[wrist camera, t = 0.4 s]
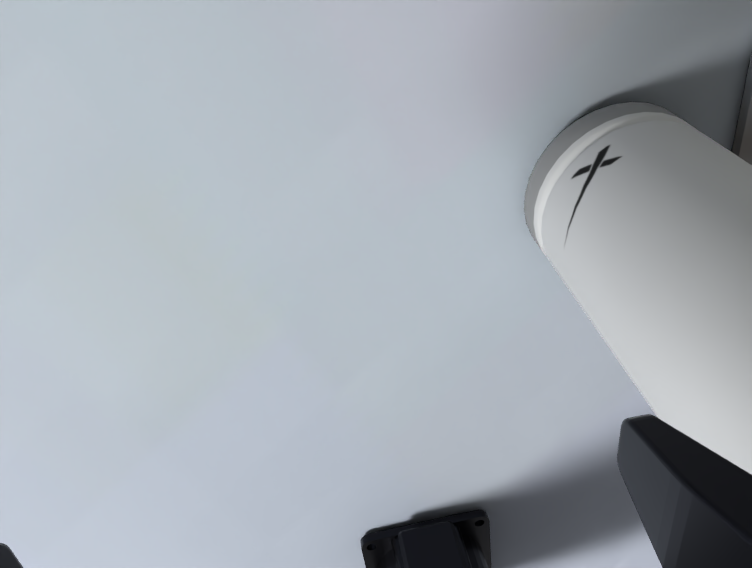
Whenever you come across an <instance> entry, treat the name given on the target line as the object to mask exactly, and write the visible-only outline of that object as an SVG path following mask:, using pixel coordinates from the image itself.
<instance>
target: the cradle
mask: <svg viewBox="0 0 752 568" xmlns="http://www.w3.org/2000/svg"><path fill="white" fill-rule="evenodd" d="M732 153H734V154H735V155H737V156H738V157H740V158H741V159H743V160H744V161H746V162H747V163H749V164H750V165H752V54H751V59H750V64H749V69H748V74H747V79H746V84H745V89H744V94H743V99H742V104H741V109H740V114H739V119H738V124H737V129H736V134H735V139H734V144H733V148H732Z"/></svg>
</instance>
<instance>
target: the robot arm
mask: <svg viewBox="0 0 752 568" xmlns="http://www.w3.org/2000/svg"><path fill="white" fill-rule="evenodd" d="M617 461H618V466H619V470H620V472H621V475H622V477H623V479H624V482H625V484H626V486H627V489H628V491H629V493H630V495H631V498H632V500H633V502H634V504H635V507H636V509H637V511H638V514H639V516H640V518H641V520H642V523H643V525H644V527H645V529H646V532H647V534H648V536H649V539H650V541H651V543H652V545H653V548H654V550H655V552H656V554H657V556H658V559H659V561H660V563H661V565H662V567H663V568H752V474H750V473H748V472H747V471H745V470H743V469H742V468H740V467H738V466H737V465H735V464H733V463H732V462H730V461H728V460H727V459H725V458H723V457H722V456H720V455H718V454H717V453H715V452H714V451H712V450H710V449H709V448H707V447H705V446H704V445H702V444H700V443H699V442H697V441H695V440H694V439H692V438H690V437H689V436H687V435H685V434H684V433H682V432H680V431H679V430H677V429H676V428H674V427H672V426H671V425H669V424H667V423H666V422H664V421H662V420H661V419H659V418H657V417H655V416H653V415H649V414H646V415H641V416H635V417H630V418H627V419H625V420H624V421H623V422H622V425H621V431H620V439H619V446H618V454H617ZM361 548H362V552H363V557H364V561H365V565H366V568H491V552H490V528H489V519H488V516H487V514H486V512H485V511H484V510H476V511H471V512H466V513H462V514H457V515H453V516H448V517H444V518H439V519H435V520H430V521H426V522H421V523H417V524H412V525H408V526H403V527H399V528H394V529H390V530H385V531H381V532H376V533H372V534H368V535H365V536H364V537H362V539H361ZM0 568H23V567H22V565H21V564H20V562H19V561H18V559H17V558H16V557H15V555H14V554H13V552H12V551H11V549H10V548H9V547H8V546H7V545H5V544H3V543H0Z"/></svg>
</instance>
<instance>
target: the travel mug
mask: <svg viewBox="0 0 752 568" xmlns="http://www.w3.org/2000/svg"><path fill="white" fill-rule="evenodd" d="M524 213H525V218H526V224H527V226H528V228H529V231H530V233H531V235H532V237H533V238H534V240H535V241H536V243H537V244H538V246H539V247H540V249H541V250H542V251H543V253H544V254H545V255H546V257H547V258H548V259H549V262H550V263H551V264H552V266H553V267H554V269H555V270H556V272H557V273H558V275H559V276H560V277H561V279H562V280H563V282H564V283H565V285H566V286H567V287H568V289H569V290H570V292H571V293H572V295H573V296H574V298H575V299H576V300H577V302H578V303H579V305H580V306H581V308H582V309H583V311H584V312H585V313H586V315H587V316H588V318H589V319H590V321H591V322H592V324H593V325H594V326H595V328H596V329H597V331H598V332H599V334H600V335H601V337H602V338H603V339H604V341H605V342H606V344H607V345H608V347H609V348H610V350H611V351H612V352H613V354H614V355H615V357H616V358H617V360H618V361H619V363H620V364H621V365H622V367H623V368H624V370H625V371H626V373H627V374H628V375H629V377H630V378H631V380H632V381H633V383H634V384H635V386H636V387H637V388H638V390H639V391H640V393H641V394H642V396H643V397H644V399H645V400H646V401H647V403H648V404H649V406H650V407H651V409H652V410H653V412H654V413H655V414H656V416H657V417H658V418H659V419H661V420H662V421H664V422H666V423H667V424H669V425H671V426H672V427H674V428H676V429H677V430H679V431H680V432H682V433H684V434H685V435H687V436H689V437H690V438H692V439H694V440H695V441H697V442H699V443H700V444H702V445H704V446H705V447H707V448H709V449H710V450H712V451H714V452H715V453H717V454H718V455H720V456H722V457H723V458H725V459H727V460H728V461H730V462H732V463H733V464H735V465H737V466H738V467H740V468H742V469H743V470H745V471H747V472H748V473H750V474H752V165H750V164H749V163H747V162H746V161H744V160H743V159H741V158H740V157H738V156H737V155H735V154H734V153H732V152H731V151H729V150H728V149H726V148H725V147H723V146H722V145H720V144H719V143H717V142H716V141H714V140H713V139H711V138H710V137H708V136H707V135H705V134H703V133H702V132H700V131H698V130H697V129H696V128H694V127H693V126H691V125H690V124H688V123H687V122H685V121H684V120H682V119H681V118H679V117H678V116H676V115H675V114H673V113H671V112H670V111H668V110H666V109H665V108H663V107H660V106H657V105H654V104H650V103H643V102H626V103H620V104H613V105H610V106H607V107H604V108H601V109H598V110H595V111H593V112H591V113H589V114H588V115H586V116H584V117H582V118H580V119H578V120H576V121H575V122H574V123H572V124H571V125H570V126H569V127H567V128H566V129H565V130H563V131H562V132H561V133H560V134H559V135H558V136H557V137H556V138H555V139H554V140H553V141H552V142H551V143H550V144H549V145H548V146H547V148H546V149H545V151H544V152H543V154H542V155H541V157H540V158H539V159H538V161H537V163H536V165H535V167H534V169H533V171H532V173H531V175H530V178H529V181H528V184H527V188H526V192H525V201H524Z"/></svg>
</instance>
